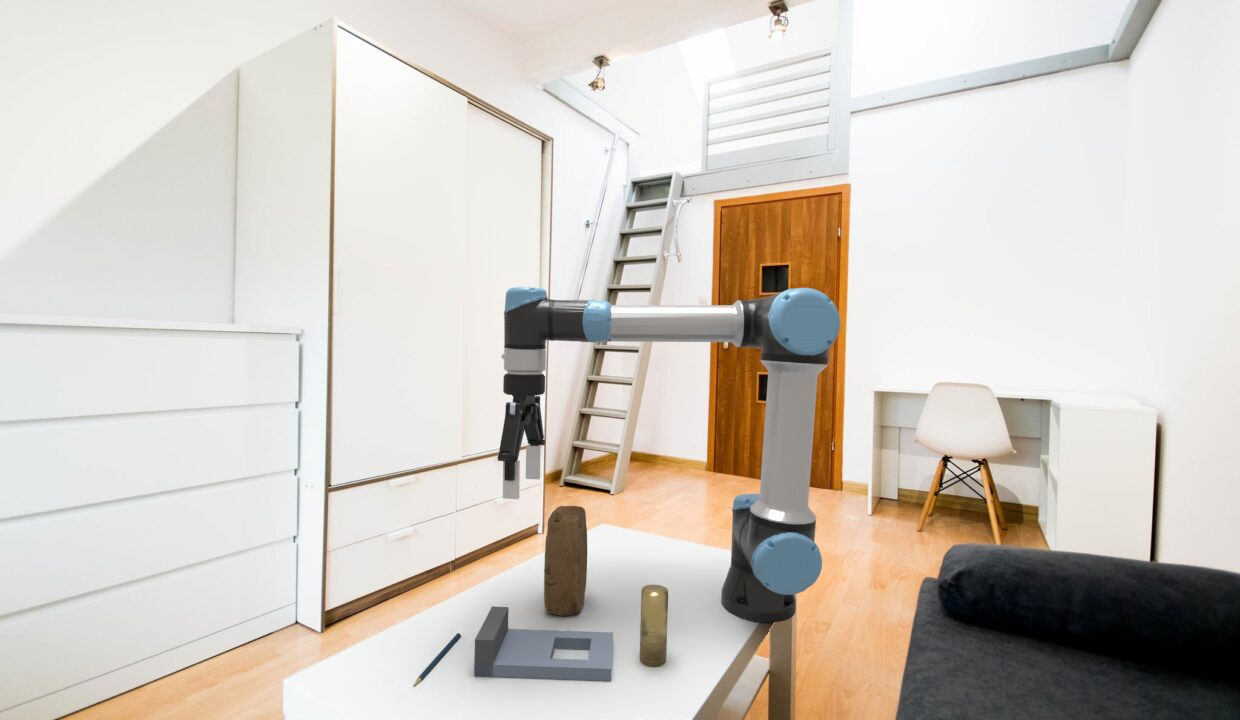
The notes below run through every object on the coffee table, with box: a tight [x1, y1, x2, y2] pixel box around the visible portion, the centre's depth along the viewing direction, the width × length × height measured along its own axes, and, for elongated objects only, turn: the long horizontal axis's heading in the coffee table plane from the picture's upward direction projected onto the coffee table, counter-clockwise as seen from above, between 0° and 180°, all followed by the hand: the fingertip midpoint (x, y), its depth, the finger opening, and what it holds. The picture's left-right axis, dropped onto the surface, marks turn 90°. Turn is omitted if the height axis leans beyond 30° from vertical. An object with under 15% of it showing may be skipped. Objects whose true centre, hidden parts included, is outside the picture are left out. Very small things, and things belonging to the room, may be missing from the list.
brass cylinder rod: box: [639, 584, 669, 668], centre depth 94 cm, size 5×5×12 cm
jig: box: [473, 606, 614, 682], centre depth 93 cm, size 22×11×6 cm, turn 89°
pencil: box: [413, 632, 462, 687], centre depth 92 cm, size 1×1×15 cm
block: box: [543, 505, 588, 617], centre depth 112 cm, size 11×8×20 cm
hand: (522, 488), depth 100 cm, fingers open, 13 cm apart
